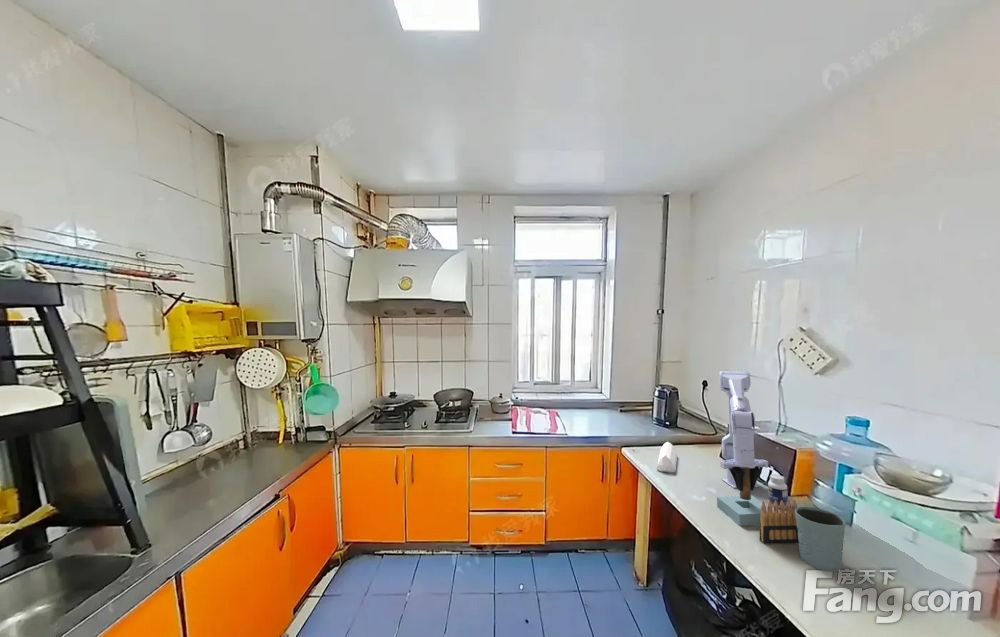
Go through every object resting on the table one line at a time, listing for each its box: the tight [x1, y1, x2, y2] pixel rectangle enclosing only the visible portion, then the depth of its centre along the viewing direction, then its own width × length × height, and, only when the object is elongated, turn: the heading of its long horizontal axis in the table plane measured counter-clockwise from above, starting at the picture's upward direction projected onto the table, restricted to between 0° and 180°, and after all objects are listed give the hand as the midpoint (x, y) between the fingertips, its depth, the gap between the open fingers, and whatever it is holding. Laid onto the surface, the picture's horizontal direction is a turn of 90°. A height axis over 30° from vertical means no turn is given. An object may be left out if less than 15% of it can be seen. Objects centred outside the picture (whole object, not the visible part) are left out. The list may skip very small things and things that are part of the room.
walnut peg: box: [739, 468, 752, 500], centre depth 124 cm, size 3×3×10 cm
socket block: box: [716, 494, 774, 527], centre depth 124 cm, size 12×12×4 cm
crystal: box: [656, 441, 678, 474], centre depth 170 cm, size 7×7×24 cm
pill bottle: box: [767, 473, 789, 509], centre depth 130 cm, size 5×5×10 cm
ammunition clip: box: [759, 499, 799, 545], centre depth 109 cm, size 11×2×12 cm, turn 89°
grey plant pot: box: [795, 506, 846, 572], centre depth 100 cm, size 10×10×12 cm
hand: (745, 489), depth 124 cm, fingers closed on walnut peg, 3 cm apart
